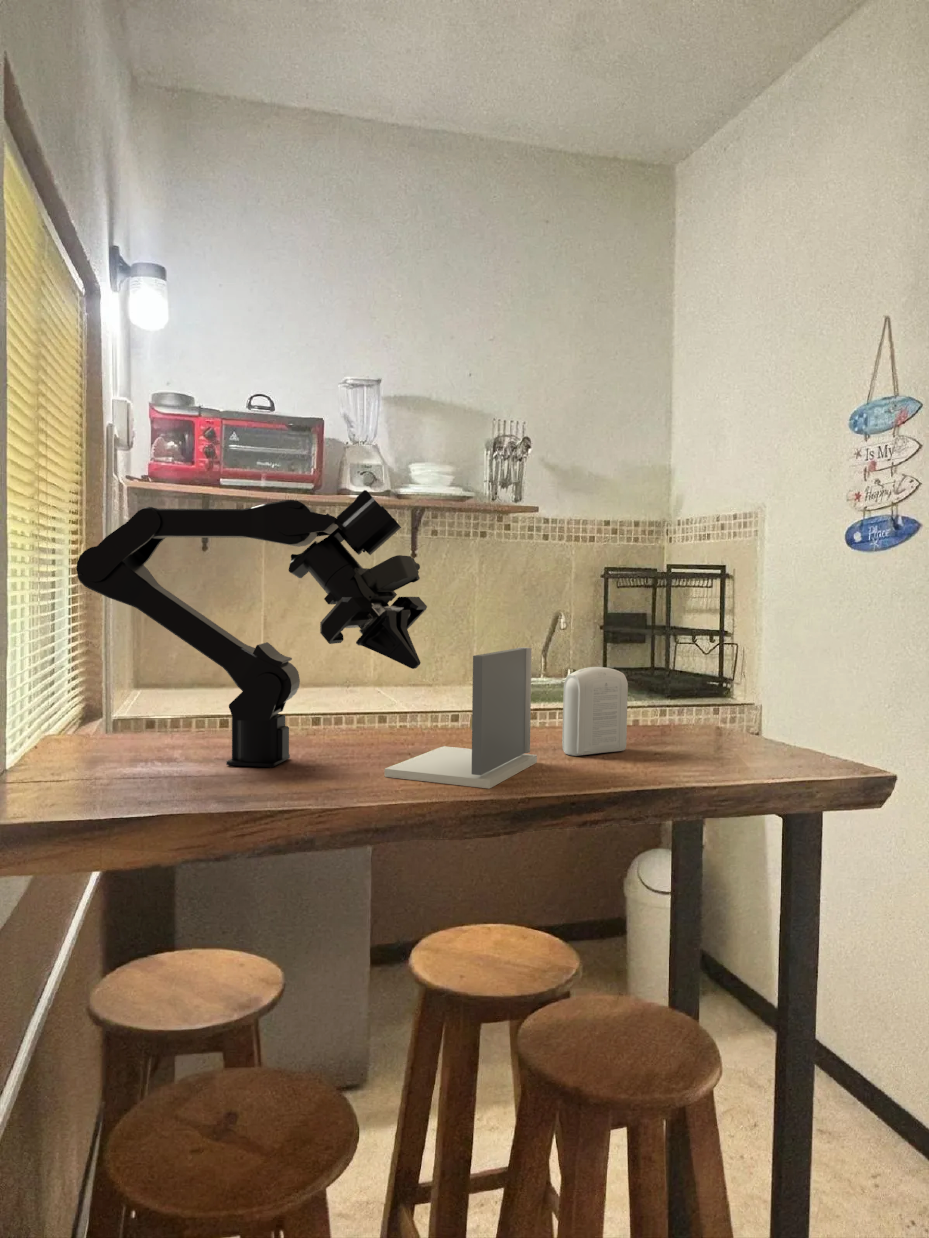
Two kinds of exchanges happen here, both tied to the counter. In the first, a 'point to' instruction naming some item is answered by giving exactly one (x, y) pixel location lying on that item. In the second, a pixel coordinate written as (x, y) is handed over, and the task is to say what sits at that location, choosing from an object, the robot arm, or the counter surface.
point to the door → (500, 708)
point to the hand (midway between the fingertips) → (417, 666)
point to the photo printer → (594, 711)
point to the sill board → (456, 768)
